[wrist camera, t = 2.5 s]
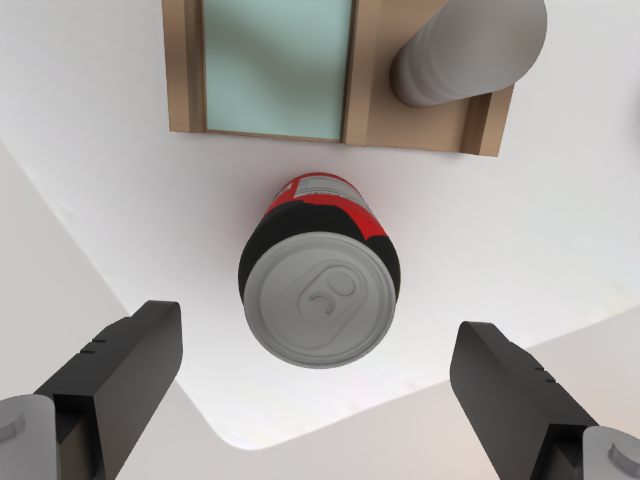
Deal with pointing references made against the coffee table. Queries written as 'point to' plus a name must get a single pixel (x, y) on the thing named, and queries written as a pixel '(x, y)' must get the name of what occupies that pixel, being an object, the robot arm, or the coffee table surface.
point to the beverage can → (319, 275)
